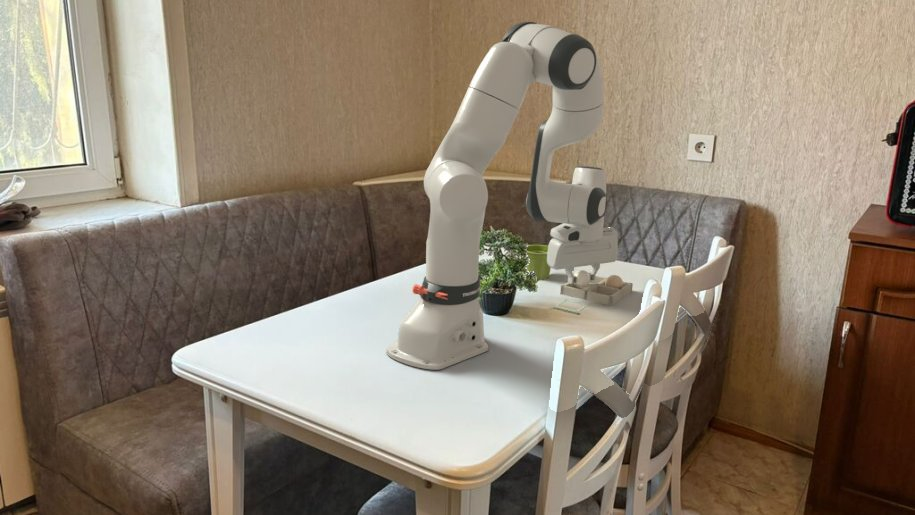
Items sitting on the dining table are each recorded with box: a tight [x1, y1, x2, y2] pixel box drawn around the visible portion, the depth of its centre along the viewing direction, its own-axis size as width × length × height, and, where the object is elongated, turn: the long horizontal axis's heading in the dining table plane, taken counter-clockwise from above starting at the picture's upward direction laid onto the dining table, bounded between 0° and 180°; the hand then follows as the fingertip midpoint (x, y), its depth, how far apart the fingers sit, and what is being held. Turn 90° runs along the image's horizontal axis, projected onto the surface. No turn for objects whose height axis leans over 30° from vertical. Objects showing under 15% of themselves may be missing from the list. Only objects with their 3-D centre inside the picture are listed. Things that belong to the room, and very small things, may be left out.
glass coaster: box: [553, 298, 589, 316], centre depth 170 cm, size 6×6×1 cm
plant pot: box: [526, 244, 552, 282], centre depth 191 cm, size 9×9×9 cm
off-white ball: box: [573, 269, 591, 288], centre depth 178 cm, size 5×5×5 cm
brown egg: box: [605, 274, 624, 289], centre depth 180 cm, size 5×5×5 cm
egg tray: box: [560, 275, 633, 307], centre depth 179 cm, size 14×14×3 cm
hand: (581, 281), depth 178 cm, fingers closed on off-white ball, 5 cm apart
